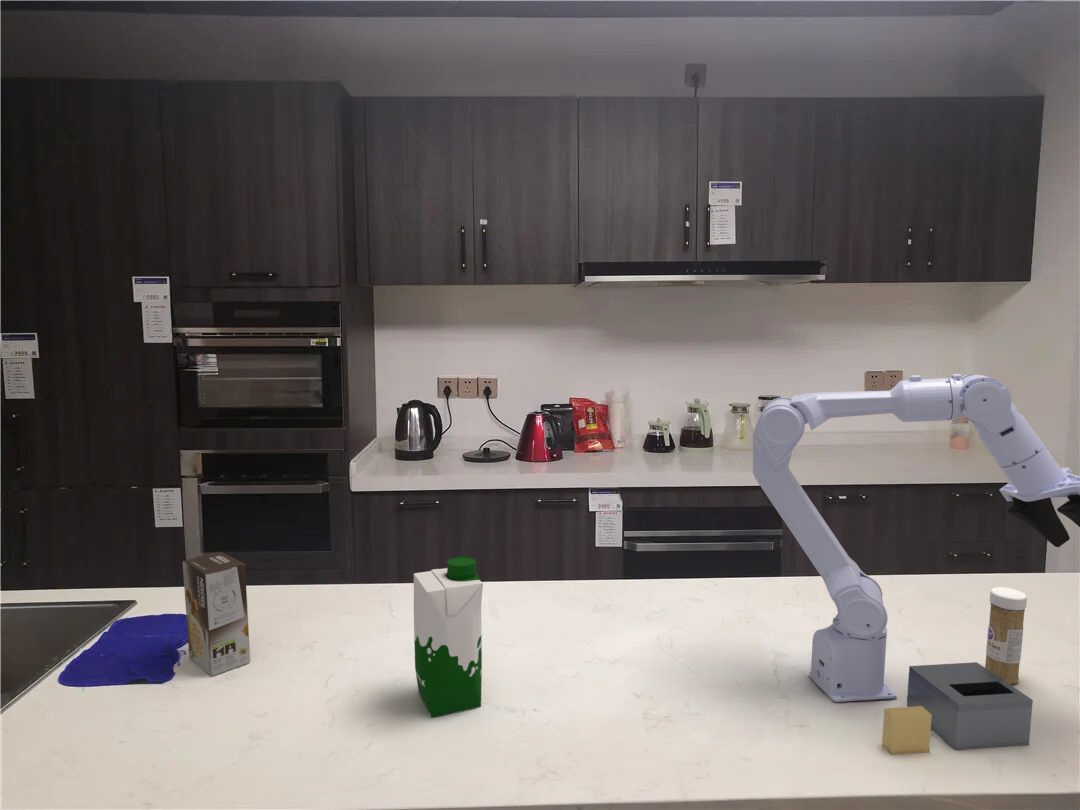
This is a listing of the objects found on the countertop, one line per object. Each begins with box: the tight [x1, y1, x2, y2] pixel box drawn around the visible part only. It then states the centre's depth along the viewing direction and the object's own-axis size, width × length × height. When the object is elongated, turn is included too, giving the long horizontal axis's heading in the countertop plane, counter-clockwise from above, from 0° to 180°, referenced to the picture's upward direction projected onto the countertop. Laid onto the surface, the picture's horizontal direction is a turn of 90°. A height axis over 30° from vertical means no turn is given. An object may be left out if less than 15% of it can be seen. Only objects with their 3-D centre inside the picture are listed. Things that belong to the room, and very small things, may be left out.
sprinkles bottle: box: [984, 586, 1028, 685], centre depth 108 cm, size 5×5×14 cm
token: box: [881, 706, 932, 756], centre depth 91 cm, size 5×2×5 cm, turn 96°
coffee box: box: [182, 551, 251, 677], centre depth 114 cm, size 9×6×16 cm
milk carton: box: [413, 556, 484, 718], centre depth 102 cm, size 9×9×20 cm
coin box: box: [906, 661, 1034, 751], centre depth 96 cm, size 10×10×6 cm
